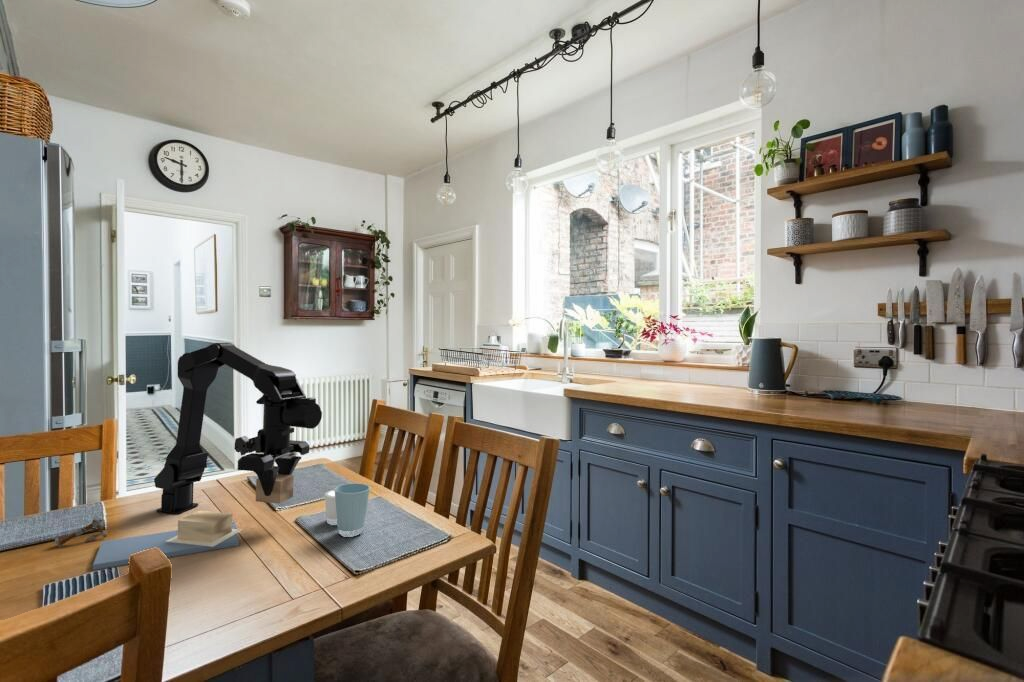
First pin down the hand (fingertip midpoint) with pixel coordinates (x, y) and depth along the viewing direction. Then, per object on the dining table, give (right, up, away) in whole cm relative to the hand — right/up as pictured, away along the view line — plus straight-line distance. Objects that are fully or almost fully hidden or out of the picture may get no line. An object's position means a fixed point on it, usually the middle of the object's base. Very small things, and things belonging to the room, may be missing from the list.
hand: (274, 492), depth 116 cm
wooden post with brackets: (-36, -8, -11) cm, 38 cm away
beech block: (-12, -7, -7) cm, 15 cm away
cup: (+18, -10, -1) cm, 20 cm away
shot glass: (+13, -9, +6) cm, 17 cm away
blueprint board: (-17, -8, -11) cm, 21 cm away
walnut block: (0, -2, 0) cm, 2 cm away
